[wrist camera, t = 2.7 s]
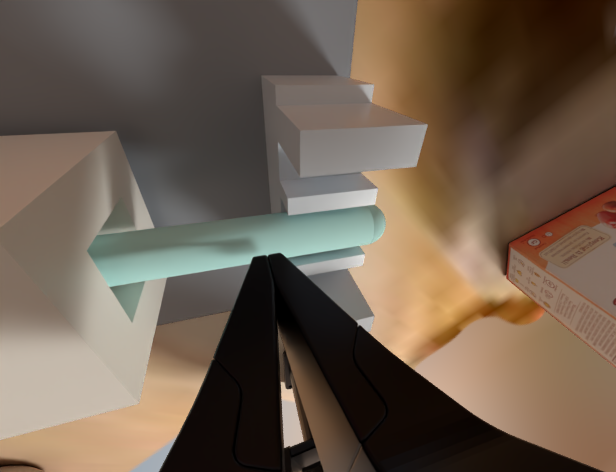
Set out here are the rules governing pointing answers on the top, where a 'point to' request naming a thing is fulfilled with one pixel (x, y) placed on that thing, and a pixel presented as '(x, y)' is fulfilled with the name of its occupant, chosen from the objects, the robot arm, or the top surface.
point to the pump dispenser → (19, 469)
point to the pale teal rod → (229, 242)
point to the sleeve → (68, 282)
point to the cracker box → (573, 271)
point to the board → (212, 116)
